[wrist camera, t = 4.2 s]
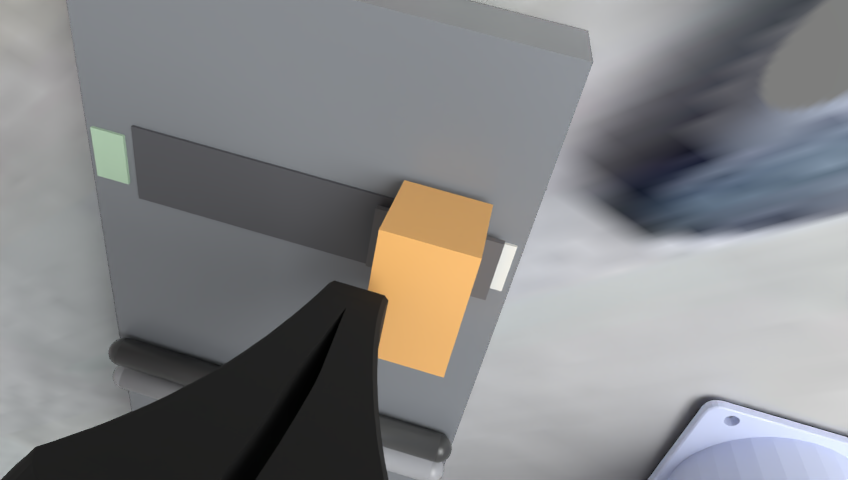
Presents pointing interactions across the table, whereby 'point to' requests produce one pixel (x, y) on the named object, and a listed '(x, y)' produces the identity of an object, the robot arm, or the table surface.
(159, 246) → the panel
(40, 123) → the table surface
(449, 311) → the block
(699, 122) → the table surface
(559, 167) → the table surface
